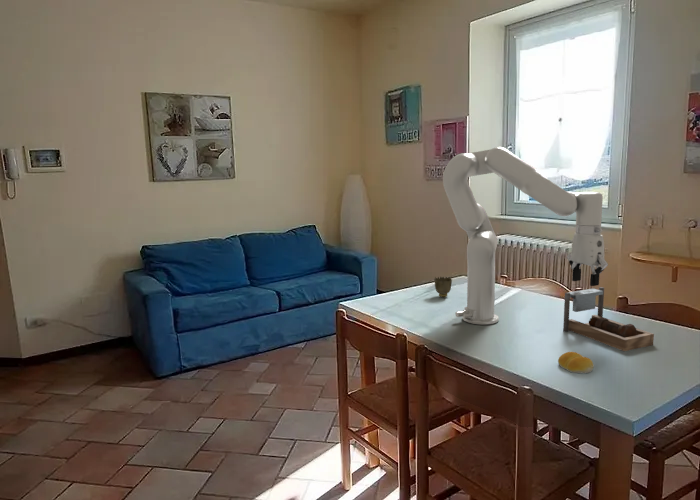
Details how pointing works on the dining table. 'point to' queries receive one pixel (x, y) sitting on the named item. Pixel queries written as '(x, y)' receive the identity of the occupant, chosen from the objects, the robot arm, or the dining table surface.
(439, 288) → the cup
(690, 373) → the dining table surface
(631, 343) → the cradle
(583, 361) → the bread roll
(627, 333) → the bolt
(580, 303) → the gate
